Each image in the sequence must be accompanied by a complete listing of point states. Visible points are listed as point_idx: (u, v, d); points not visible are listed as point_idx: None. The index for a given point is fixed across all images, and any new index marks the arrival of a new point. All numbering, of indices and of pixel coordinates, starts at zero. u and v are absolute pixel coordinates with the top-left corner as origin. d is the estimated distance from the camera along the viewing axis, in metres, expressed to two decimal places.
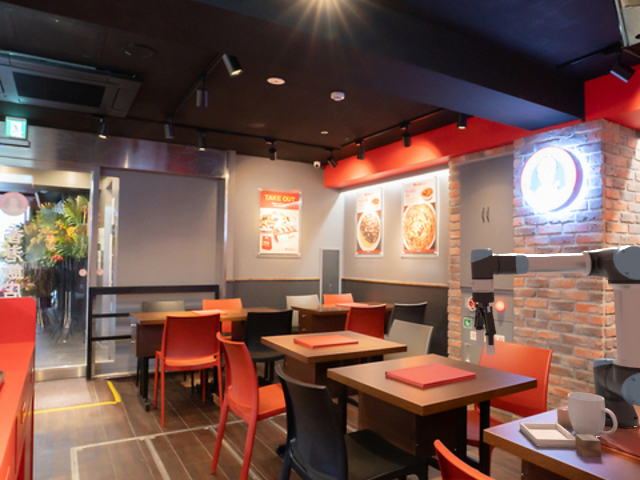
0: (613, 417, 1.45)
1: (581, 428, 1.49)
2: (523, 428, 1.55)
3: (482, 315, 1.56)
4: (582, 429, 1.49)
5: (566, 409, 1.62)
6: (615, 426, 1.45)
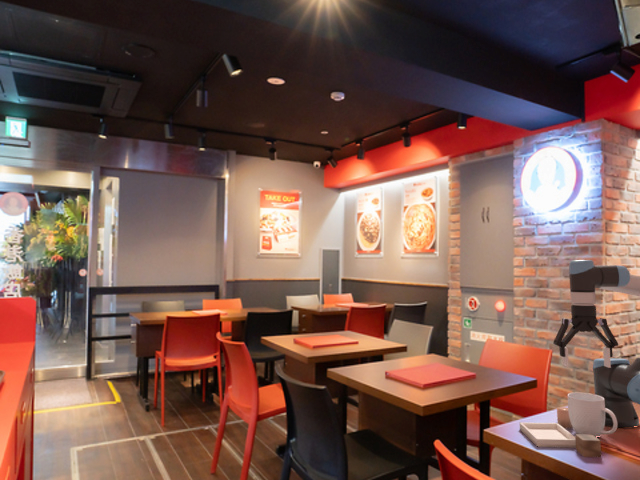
0: (613, 417, 1.45)
1: (581, 428, 1.49)
2: (523, 428, 1.55)
3: None
4: (582, 429, 1.49)
5: (566, 409, 1.62)
6: (615, 426, 1.45)
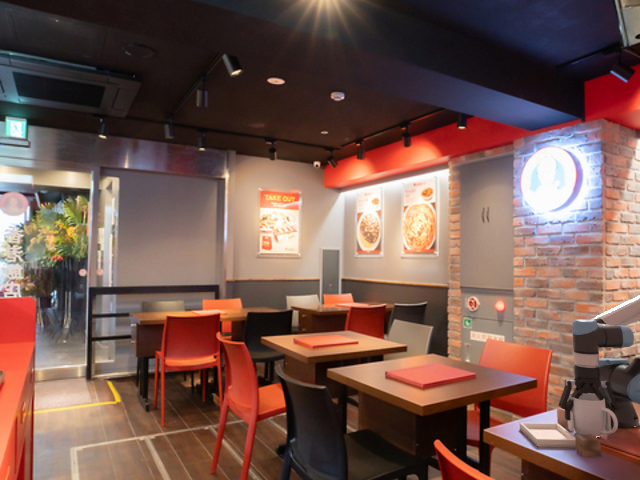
0: (613, 417, 1.45)
1: (581, 428, 1.49)
2: (523, 428, 1.55)
3: (575, 389, 1.54)
4: (582, 429, 1.49)
5: None
6: (615, 426, 1.45)
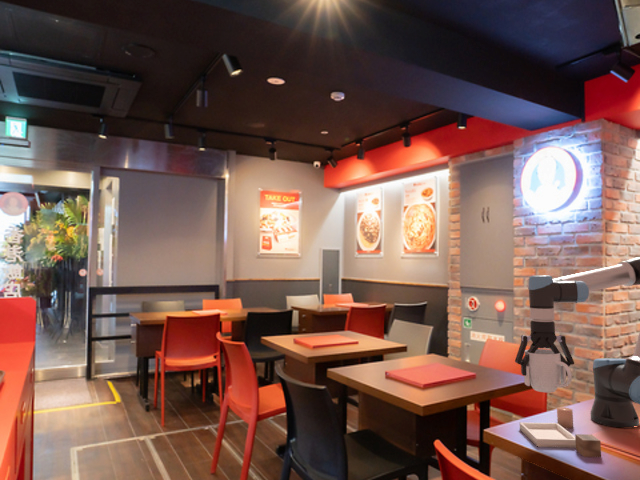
0: (567, 369, 1.45)
1: (537, 382, 1.49)
2: (523, 428, 1.55)
3: (531, 344, 1.54)
4: (538, 383, 1.49)
5: (566, 409, 1.62)
6: (569, 378, 1.45)
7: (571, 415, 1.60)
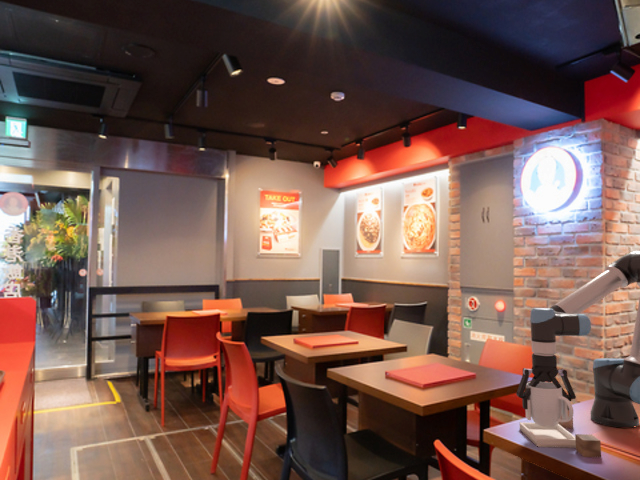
0: (569, 405, 1.44)
1: (538, 417, 1.49)
2: (523, 428, 1.55)
3: None
4: (539, 417, 1.48)
5: None
6: (571, 414, 1.44)
7: None
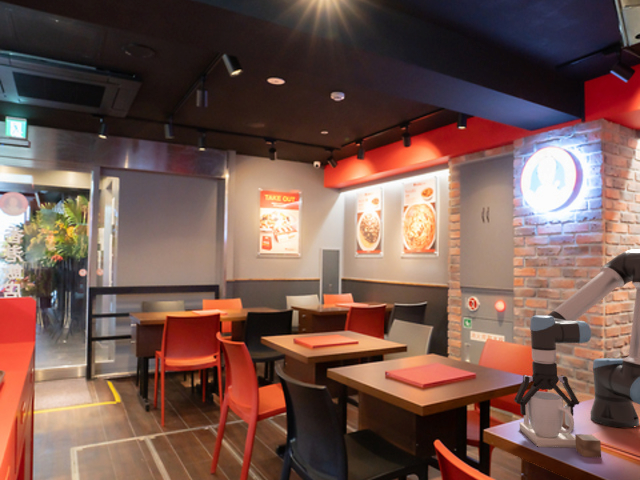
0: (570, 416, 1.44)
1: (539, 427, 1.48)
2: (523, 428, 1.55)
3: None
4: (540, 428, 1.48)
5: None
6: (572, 425, 1.44)
7: None
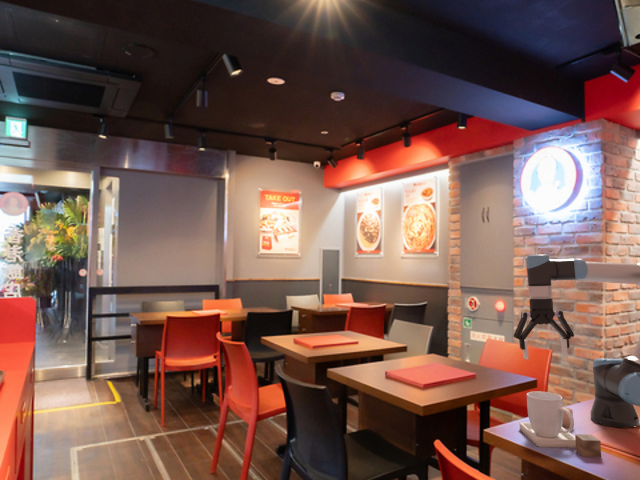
0: (570, 416, 1.44)
1: (539, 427, 1.48)
2: (523, 428, 1.55)
3: (530, 321, 1.60)
4: (540, 428, 1.48)
5: None
6: (572, 425, 1.44)
7: None
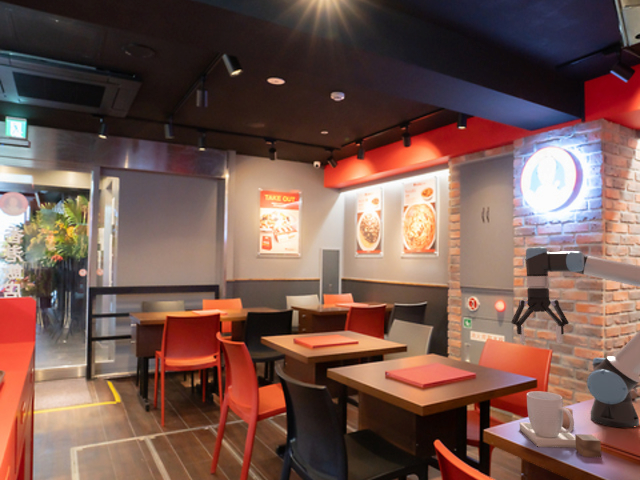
0: (570, 416, 1.44)
1: (539, 427, 1.48)
2: (523, 428, 1.55)
3: None
4: (540, 428, 1.48)
5: None
6: (572, 425, 1.44)
7: None
